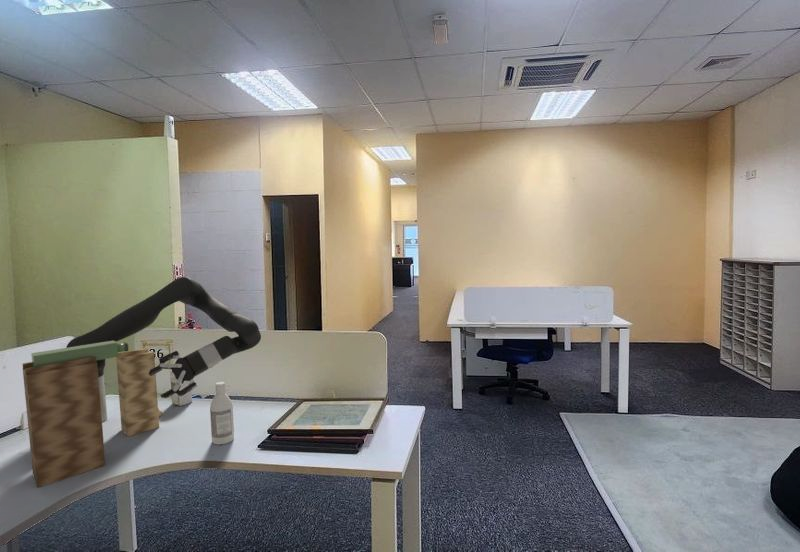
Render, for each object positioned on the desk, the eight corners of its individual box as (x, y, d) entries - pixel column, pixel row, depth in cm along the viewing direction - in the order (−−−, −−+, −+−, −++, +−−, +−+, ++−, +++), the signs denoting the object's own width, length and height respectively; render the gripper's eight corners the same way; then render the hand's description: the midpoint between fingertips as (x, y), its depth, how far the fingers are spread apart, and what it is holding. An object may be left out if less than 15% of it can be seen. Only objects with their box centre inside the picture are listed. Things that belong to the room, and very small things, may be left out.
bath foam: (216, 436, 150) (213, 379, 149) (236, 435, 151) (234, 379, 149) (208, 445, 144) (205, 387, 142) (229, 445, 144) (226, 386, 142)
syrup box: (192, 402, 182) (190, 368, 180) (179, 406, 177) (177, 372, 175) (184, 399, 185) (182, 366, 183) (171, 404, 180) (169, 369, 178)
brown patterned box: (37, 487, 121) (25, 370, 117) (32, 474, 127) (22, 362, 124) (105, 465, 132) (96, 357, 129) (97, 454, 139) (89, 351, 136)
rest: (127, 436, 151) (121, 357, 148) (121, 429, 156) (115, 353, 154) (159, 427, 158) (154, 352, 155) (152, 421, 163) (147, 348, 161)
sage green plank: (34, 371, 121) (33, 356, 120) (32, 368, 124) (31, 353, 123) (129, 354, 137) (128, 340, 137) (125, 352, 140) (124, 338, 140)
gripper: (192, 338, 145) (142, 364, 138) (213, 373, 142) (162, 402, 135) (195, 344, 152) (148, 370, 145) (215, 378, 149) (168, 406, 141)
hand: (155, 385), depth 140 cm, fingers open, 8 cm apart
